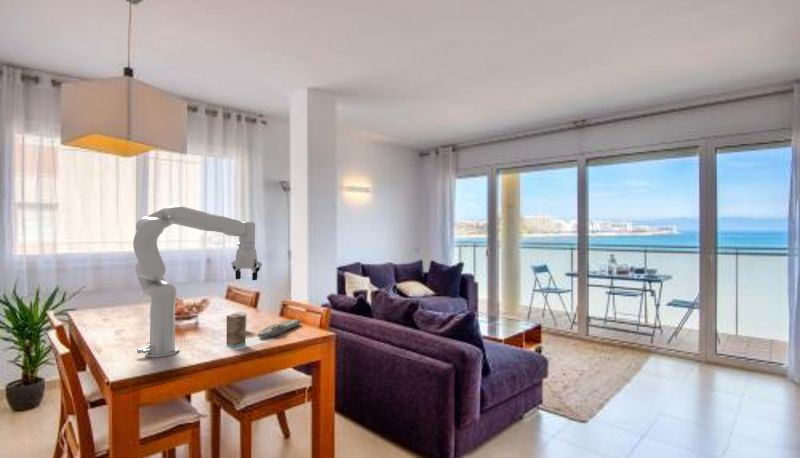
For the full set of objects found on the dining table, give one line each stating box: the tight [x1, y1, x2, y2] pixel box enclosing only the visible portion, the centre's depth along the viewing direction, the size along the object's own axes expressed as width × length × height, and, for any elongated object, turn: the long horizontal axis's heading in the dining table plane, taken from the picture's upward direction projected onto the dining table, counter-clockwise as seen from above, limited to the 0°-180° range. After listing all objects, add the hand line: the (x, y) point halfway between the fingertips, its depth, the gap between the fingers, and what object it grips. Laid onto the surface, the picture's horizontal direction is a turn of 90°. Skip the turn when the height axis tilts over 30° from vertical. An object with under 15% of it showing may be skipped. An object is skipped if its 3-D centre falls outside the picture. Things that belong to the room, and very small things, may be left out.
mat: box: [221, 335, 277, 351], centre depth 196 cm, size 22×12×1 cm, turn 142°
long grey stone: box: [257, 319, 301, 338], centre depth 217 cm, size 35×5×10 cm
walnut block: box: [225, 314, 247, 348], centre depth 191 cm, size 6×6×14 cm
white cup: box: [230, 311, 248, 326], centre depth 215 cm, size 8×8×10 cm
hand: (246, 279), depth 207 cm, fingers open, 9 cm apart
